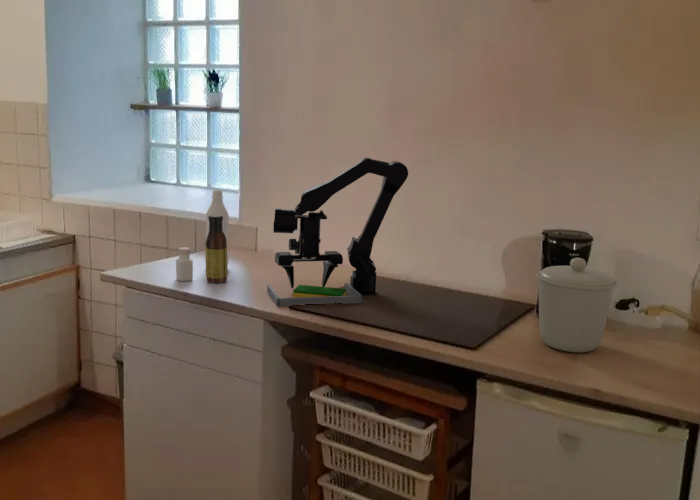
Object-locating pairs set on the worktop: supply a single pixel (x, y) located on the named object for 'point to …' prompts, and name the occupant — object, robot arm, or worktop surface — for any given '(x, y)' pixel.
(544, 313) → the canister
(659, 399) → the worktop surface
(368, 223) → the robot arm
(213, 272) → the sauce bottle
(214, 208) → the water bottle
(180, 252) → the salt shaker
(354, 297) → the box
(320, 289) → the dish sponge
